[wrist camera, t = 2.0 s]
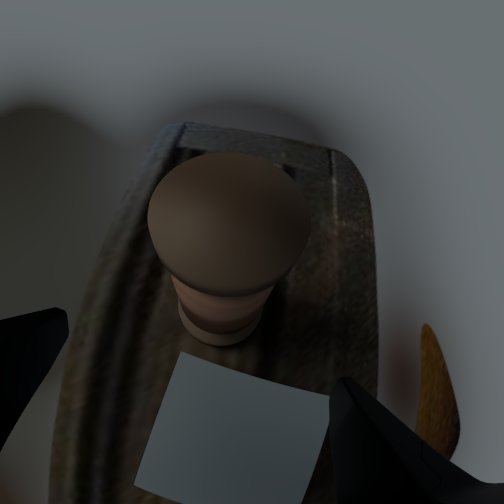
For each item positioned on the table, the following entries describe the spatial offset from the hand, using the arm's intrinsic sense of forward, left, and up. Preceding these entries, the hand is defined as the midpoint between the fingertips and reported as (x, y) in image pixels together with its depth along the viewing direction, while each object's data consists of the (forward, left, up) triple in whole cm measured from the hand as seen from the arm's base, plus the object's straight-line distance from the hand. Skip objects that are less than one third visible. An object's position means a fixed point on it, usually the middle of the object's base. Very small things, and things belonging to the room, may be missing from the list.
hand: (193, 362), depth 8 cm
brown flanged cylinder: (+5, +1, -12) cm, 13 cm away
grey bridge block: (-4, -3, -12) cm, 13 cm away
